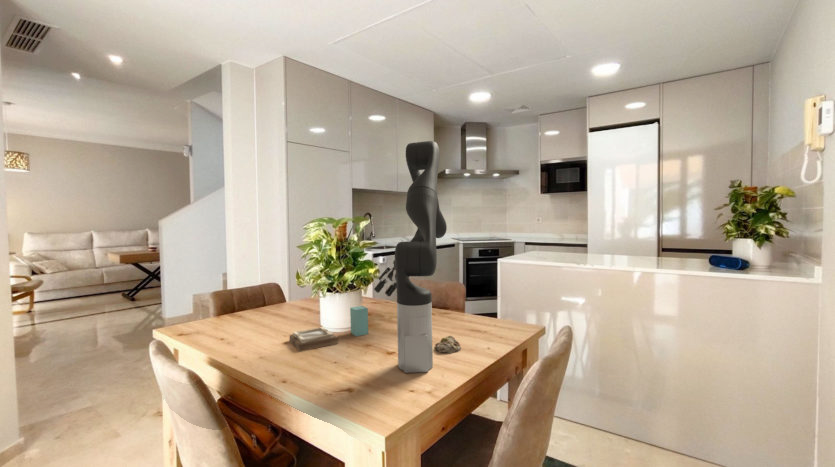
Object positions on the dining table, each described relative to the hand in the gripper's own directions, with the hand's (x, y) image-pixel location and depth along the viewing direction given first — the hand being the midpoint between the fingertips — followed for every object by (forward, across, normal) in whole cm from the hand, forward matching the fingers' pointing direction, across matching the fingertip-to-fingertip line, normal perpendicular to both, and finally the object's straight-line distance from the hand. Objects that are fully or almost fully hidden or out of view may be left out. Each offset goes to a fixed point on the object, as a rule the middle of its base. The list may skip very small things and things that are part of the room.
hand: (381, 293), depth 135 cm
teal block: (+15, 0, +3) cm, 16 cm away
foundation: (+27, 0, -8) cm, 28 cm away
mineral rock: (+4, +29, +15) cm, 33 cm away
